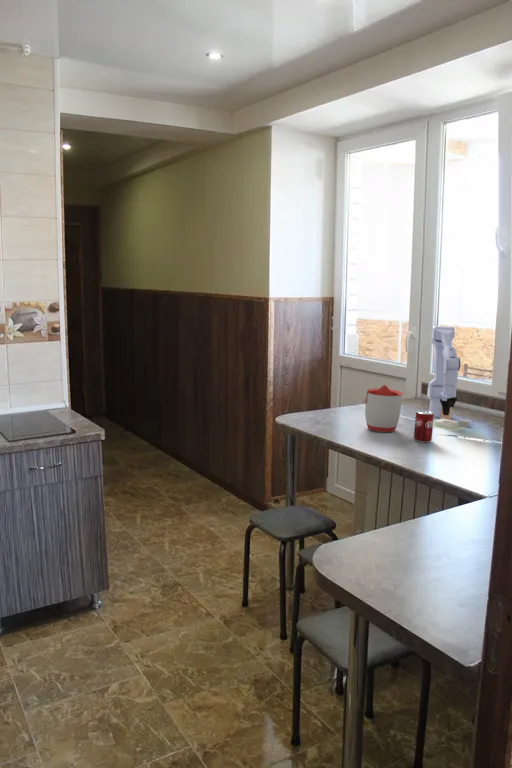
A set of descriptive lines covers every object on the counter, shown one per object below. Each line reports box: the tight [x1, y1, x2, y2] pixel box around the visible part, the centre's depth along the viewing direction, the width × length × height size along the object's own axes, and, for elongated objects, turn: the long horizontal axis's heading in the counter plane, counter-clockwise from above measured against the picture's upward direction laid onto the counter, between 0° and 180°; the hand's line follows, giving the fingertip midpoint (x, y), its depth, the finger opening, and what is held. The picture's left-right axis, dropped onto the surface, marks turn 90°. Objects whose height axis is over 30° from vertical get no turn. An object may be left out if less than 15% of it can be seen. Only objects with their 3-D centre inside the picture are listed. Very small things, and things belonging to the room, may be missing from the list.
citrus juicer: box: [360, 384, 403, 433], centre depth 283 cm, size 16×17×20 cm
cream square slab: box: [433, 418, 460, 428], centre depth 293 cm, size 8×8×2 cm
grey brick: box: [459, 418, 471, 428], centre depth 294 cm, size 4×4×2 cm
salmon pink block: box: [439, 407, 454, 420], centre depth 292 cm, size 4×4×5 cm
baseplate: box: [433, 419, 468, 433], centre depth 293 cm, size 16×16×1 cm
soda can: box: [413, 410, 435, 443], centre depth 268 cm, size 7×7×12 cm
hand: (447, 414), depth 292 cm, fingers closed on salmon pink block, 4 cm apart
